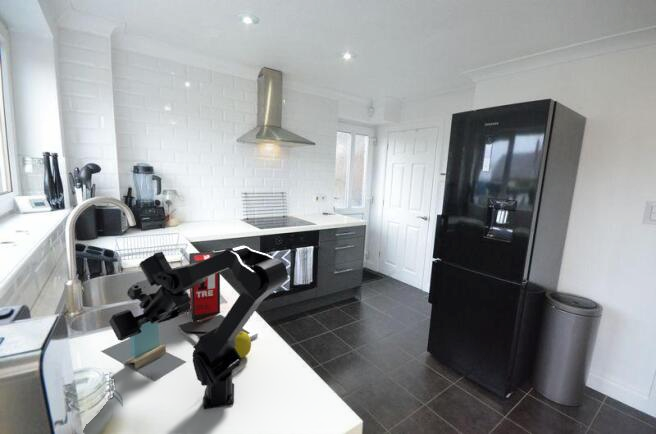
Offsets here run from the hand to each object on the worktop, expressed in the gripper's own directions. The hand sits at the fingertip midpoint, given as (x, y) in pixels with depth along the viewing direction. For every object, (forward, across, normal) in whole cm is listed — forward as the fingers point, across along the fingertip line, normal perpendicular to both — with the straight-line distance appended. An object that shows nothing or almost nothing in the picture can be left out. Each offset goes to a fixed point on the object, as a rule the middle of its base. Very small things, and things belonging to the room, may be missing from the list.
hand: (141, 328), depth 81 cm
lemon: (-10, -14, +23) cm, 28 cm away
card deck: (+3, 0, +5) cm, 6 cm away
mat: (+6, 0, +6) cm, 9 cm away
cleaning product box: (+13, -29, -1) cm, 32 cm away
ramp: (+5, 0, +7) cm, 9 cm away
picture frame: (+1, -19, +12) cm, 23 cm away
